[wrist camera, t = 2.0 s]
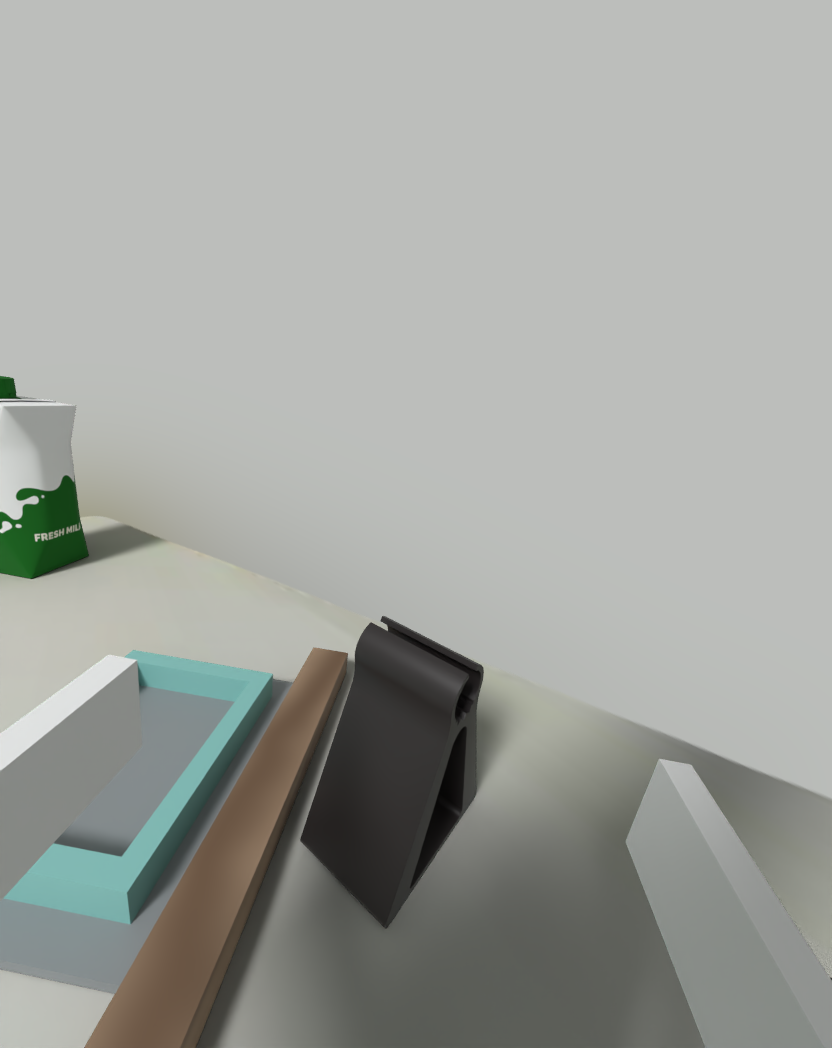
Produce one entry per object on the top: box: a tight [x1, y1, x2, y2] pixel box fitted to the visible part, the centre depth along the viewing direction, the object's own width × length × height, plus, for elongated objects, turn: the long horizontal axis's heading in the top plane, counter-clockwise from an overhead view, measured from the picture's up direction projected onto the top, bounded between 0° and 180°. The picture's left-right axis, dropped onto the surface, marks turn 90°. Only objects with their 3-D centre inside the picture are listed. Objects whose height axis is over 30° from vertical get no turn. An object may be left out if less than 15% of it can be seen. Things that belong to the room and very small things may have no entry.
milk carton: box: [0, 376, 89, 579], centre depth 45 cm, size 9×9×20 cm
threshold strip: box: [84, 648, 348, 1048], centre depth 24 cm, size 3×24×2 cm, turn 175°
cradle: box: [0, 650, 293, 994], centre depth 25 cm, size 13×18×3 cm
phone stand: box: [300, 616, 484, 928], centre depth 23 cm, size 9×6×12 cm, turn 144°
